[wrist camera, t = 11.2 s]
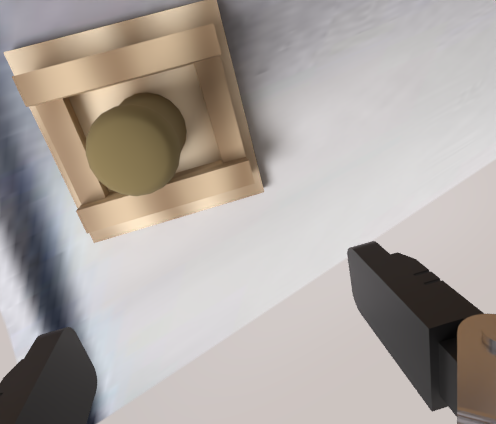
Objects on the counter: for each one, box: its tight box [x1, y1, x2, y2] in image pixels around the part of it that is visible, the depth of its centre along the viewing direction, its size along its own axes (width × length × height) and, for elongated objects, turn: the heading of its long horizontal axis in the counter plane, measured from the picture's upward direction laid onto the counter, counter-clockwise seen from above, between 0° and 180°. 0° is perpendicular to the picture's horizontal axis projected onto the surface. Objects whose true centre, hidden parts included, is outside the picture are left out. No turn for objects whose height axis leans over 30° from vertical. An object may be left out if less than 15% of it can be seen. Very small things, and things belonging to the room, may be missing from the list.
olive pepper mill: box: [86, 92, 187, 196], centre depth 24 cm, size 6×6×11 cm
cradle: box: [3, 0, 264, 243], centre depth 28 cm, size 16×16×4 cm
